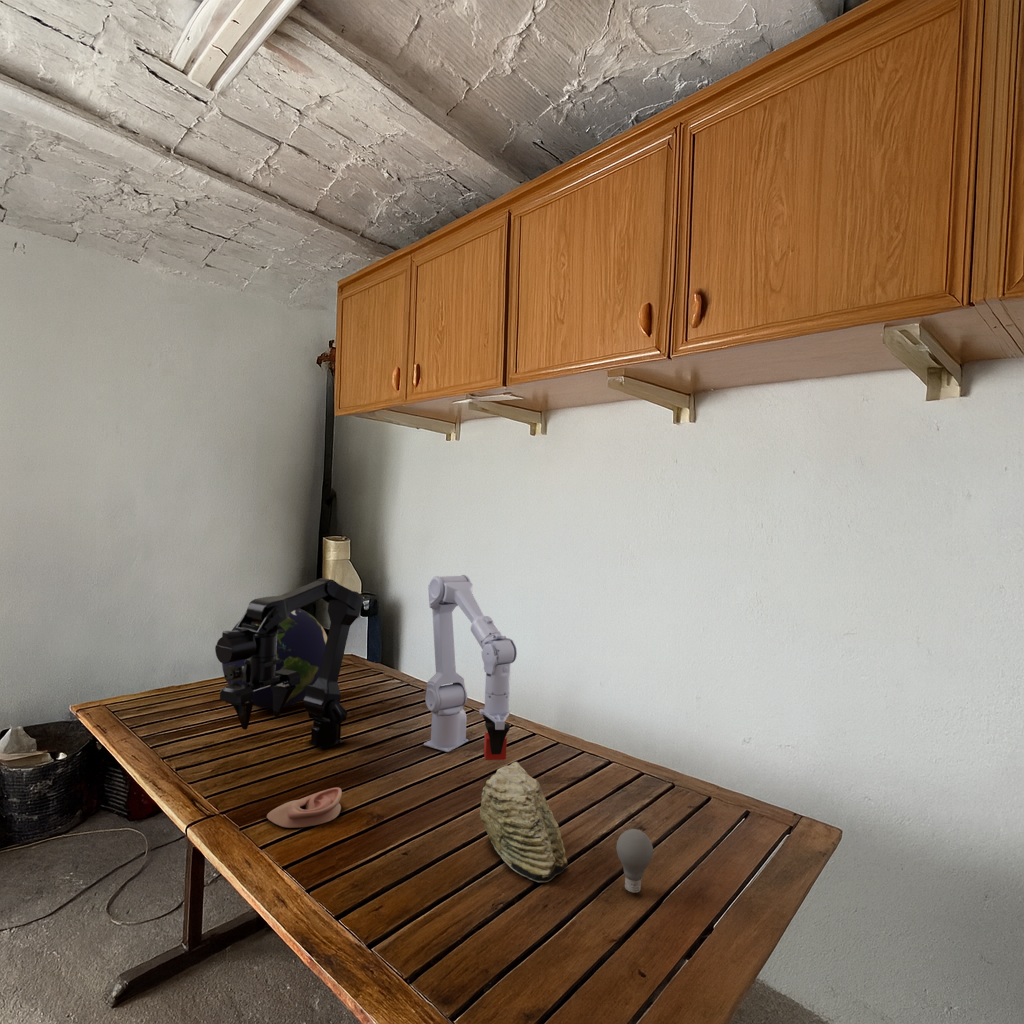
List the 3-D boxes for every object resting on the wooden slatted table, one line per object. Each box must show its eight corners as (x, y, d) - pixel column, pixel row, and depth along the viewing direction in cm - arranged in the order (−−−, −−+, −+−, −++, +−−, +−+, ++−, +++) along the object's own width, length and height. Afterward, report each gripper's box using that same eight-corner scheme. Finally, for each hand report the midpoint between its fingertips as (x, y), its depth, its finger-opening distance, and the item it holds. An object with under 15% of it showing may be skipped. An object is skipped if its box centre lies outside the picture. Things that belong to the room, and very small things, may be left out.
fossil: (501, 827, 124) (504, 751, 124) (575, 868, 111) (578, 784, 111) (467, 843, 118) (470, 763, 118) (541, 889, 105) (545, 799, 105)
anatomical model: (258, 803, 122) (290, 777, 133) (257, 823, 122) (290, 796, 133) (321, 812, 119) (349, 786, 130) (320, 833, 119) (348, 805, 130)
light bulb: (610, 879, 108) (613, 822, 108) (644, 879, 109) (647, 822, 109) (619, 902, 102) (622, 840, 102) (655, 901, 103) (658, 840, 103)
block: (483, 753, 149) (484, 732, 149) (503, 752, 150) (504, 732, 150) (485, 760, 145) (486, 738, 145) (506, 759, 146) (506, 738, 146)
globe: (289, 685, 209) (292, 594, 208) (348, 705, 191) (352, 606, 191) (199, 706, 185) (203, 604, 184) (258, 732, 167) (262, 619, 167)
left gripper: (267, 642, 156) (265, 705, 156) (203, 658, 139) (200, 728, 139) (302, 648, 151) (300, 713, 152) (240, 665, 134) (237, 738, 135)
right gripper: (477, 682, 154) (475, 737, 154) (483, 701, 140) (480, 762, 140) (506, 682, 155) (504, 737, 155) (514, 701, 141) (512, 762, 141)
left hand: (260, 722), depth 145 cm, fingers open, 9 cm apart
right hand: (494, 749), depth 148 cm, fingers closed on block, 4 cm apart
